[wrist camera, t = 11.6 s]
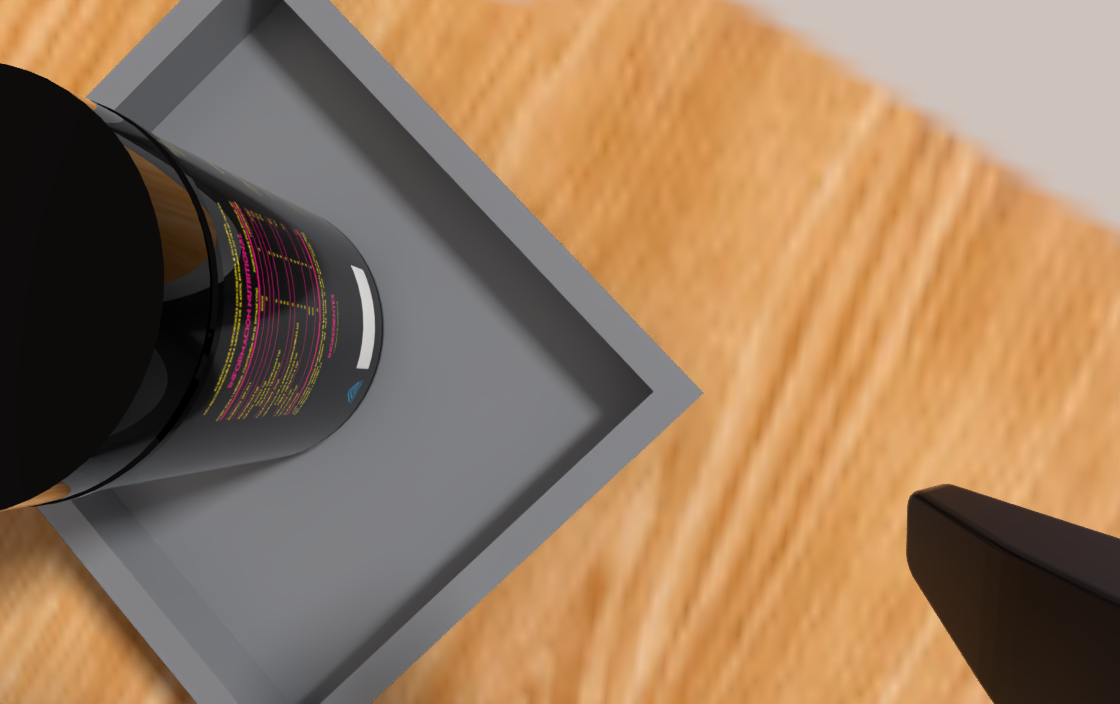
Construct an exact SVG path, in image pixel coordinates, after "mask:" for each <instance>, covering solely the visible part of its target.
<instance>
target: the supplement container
mask: <svg viewBox="0 0 1120 704" xmlns="http://www.w3.org/2000/svg"><path fill="white" fill-rule="evenodd" d="M383 345H384V313H383V305H382V301H381V296H380V292H379V289H378V286H377V283H376V280H375V278H374V276H373V273H372V271H371V269H370V267H369V265H368V264H367V262H366V260H365V258H364V257H363V255H362V254H361V253H360V251H359V250H358V249H357V247H356V246H355V245H354V244H353V243H352V241H351V240H350V239H349V238H348V237H347V236H346V235H345V234H344V233H343V232H341V231H340V230H339V229H338V228H337V227H335V226H334V225H333V224H331V223H330V222H328V221H327V220H325V219H323V218H322V217H320V216H318V215H316V214H314V213H312V212H310V211H308V210H306V209H304V208H302V207H300V206H298V205H296V204H294V203H292V202H290V201H288V200H286V199H284V198H282V197H280V196H278V195H276V194H274V193H272V192H270V191H268V190H266V189H264V188H262V187H260V186H258V185H256V184H254V183H252V182H250V181H248V180H246V179H244V178H242V177H240V176H238V175H236V174H234V173H232V172H229V171H227V170H225V169H223V168H221V167H219V166H217V165H215V164H213V163H211V162H209V161H207V160H205V159H203V158H201V157H199V156H197V155H195V154H193V153H191V152H189V151H187V150H185V149H183V148H181V147H179V146H177V145H175V144H173V143H171V142H169V141H167V140H165V139H163V138H161V137H159V136H157V135H155V134H153V133H151V132H149V131H148V130H146V129H145V128H143V127H142V126H141V125H139V124H138V123H136V122H135V121H133V120H131V119H130V118H128V117H126V116H124V115H122V114H121V113H119V112H117V111H115V110H113V109H111V108H109V107H106V106H104V105H102V104H99V103H97V102H94V101H92V100H89V99H87V98H85V97H83V96H81V95H79V94H77V93H75V92H73V91H71V90H69V89H67V88H65V87H63V86H61V85H59V84H57V83H55V82H53V81H51V80H49V79H46V78H44V77H42V76H39V75H37V74H34V73H32V72H30V71H27V70H24V69H20V68H17V67H14V66H10V65H6V64H1V63H0V512H2V511H7V510H12V509H18V508H23V507H34V506H42V505H49V504H55V503H61V502H65V501H69V500H73V499H76V498H80V497H84V496H86V495H89V494H91V493H94V492H99V491H104V490H110V489H115V488H121V487H126V486H132V485H137V484H143V483H148V482H153V481H159V480H164V479H170V478H175V477H181V476H186V475H192V474H197V473H203V472H208V471H213V470H219V469H224V468H230V467H235V466H241V465H246V464H252V463H257V462H263V461H268V460H274V459H279V458H284V457H288V456H292V455H295V454H298V453H301V452H303V451H306V450H308V449H310V448H312V447H314V446H316V445H318V444H320V443H321V442H323V441H324V440H326V439H327V438H329V437H330V436H332V435H333V434H334V433H335V432H337V431H338V430H339V429H340V428H341V427H342V426H343V425H344V424H345V423H346V422H347V421H348V420H349V419H350V418H351V417H352V416H353V415H354V413H355V412H356V411H357V410H358V408H359V407H360V405H361V404H362V402H363V401H364V399H365V398H366V396H367V394H368V392H369V390H370V388H371V386H372V384H373V382H374V379H375V377H376V374H377V371H378V368H379V364H380V361H381V356H382V351H383Z"/></svg>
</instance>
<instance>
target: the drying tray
mask: <svg viewBox="0 0 1120 704" xmlns="http://www.w3.org/2000/svg"><path fill="white" fill-rule="evenodd" d="M85 98H87V99H89V100H92V101H94V102H97V103H99V104H102V105H104V106H106V107H109V108H111V109H113V110H115V111H117V112H119V113H121V114H122V115H124V116H126V117H128V118H130V119H131V120H133V121H135V122H136V123H138V124H139V125H141V126H142V127H143V128H145V129H146V130H148V131H149V132H151V133H153V134H155V135H157V136H159V137H161V138H163V139H165V140H167V141H169V142H171V143H173V144H175V145H177V146H179V147H181V148H183V149H185V150H187V151H189V152H191V153H193V154H195V155H197V156H199V157H201V158H203V159H205V160H207V161H209V162H211V163H213V164H215V165H217V166H219V167H221V168H223V169H225V170H227V171H229V172H232V173H234V174H236V175H238V176H240V177H242V178H244V179H246V180H248V181H250V182H252V183H254V184H256V185H258V186H260V187H262V188H264V189H266V190H268V191H270V192H272V193H274V194H276V195H278V196H280V197H282V198H284V199H286V200H288V201H290V202H292V203H294V204H296V205H298V206H300V207H302V208H304V209H306V210H308V211H310V212H312V213H314V214H316V215H318V216H320V217H322V218H323V219H325V220H327V221H328V222H330V223H331V224H333V225H334V226H335V227H337V228H338V229H339V230H340V231H341V232H343V233H344V234H345V235H346V236H347V237H348V238H349V239H350V240H351V241H352V243H353V244H354V245H355V246H356V247H357V249H358V250H359V251H360V253H361V254H362V255H363V257H364V258H365V260H366V262H367V264H368V265H369V267H370V269H371V271H372V273H373V276H374V278H375V280H376V283H377V286H378V289H379V292H380V296H381V301H382V305H383V313H384V345H383V351H382V356H381V361H380V364H379V368H378V371H377V374H376V377H375V379H374V382H373V384H372V386H371V388H370V390H369V392H368V394H367V396H366V398H365V399H364V401H363V402H362V404H361V405H360V407H359V408H358V410H357V411H356V412H355V413H354V415H353V416H352V417H351V418H350V419H349V420H348V421H347V422H346V423H345V424H344V425H343V426H342V427H341V428H340V429H339V430H338V431H337V432H335V433H334V434H333V435H332V436H330V437H329V438H327V439H326V440H324V441H323V442H321V443H320V444H318V445H316V446H314V447H312V448H310V449H308V450H306V451H303V452H301V453H298V454H295V455H292V456H288V457H284V458H279V459H274V460H268V461H263V462H257V463H252V464H246V465H241V466H235V467H230V468H224V469H219V470H213V471H208V472H203V473H197V474H192V475H186V476H181V477H175V478H170V479H164V480H159V481H153V482H148V483H143V484H137V485H132V486H126V487H121V488H115V489H110V490H104V491H99V492H94V493H91V494H89V495H86V496H84V497H80V498H76V499H73V500H69V501H65V502H61V503H55V504H49V505H42V506H36V507H37V509H38V510H39V511H40V512H41V513H42V515H43V516H44V517H45V518H46V520H47V521H48V522H49V523H50V524H51V526H52V527H53V528H54V529H55V531H56V532H57V533H58V534H59V535H60V537H61V538H62V539H63V540H64V542H65V543H66V544H67V545H68V546H69V548H70V549H71V550H72V551H73V553H74V554H75V555H76V556H77V557H78V559H79V560H80V561H81V562H82V564H83V565H84V566H85V567H86V568H87V570H88V571H89V572H90V573H91V575H92V576H93V577H94V578H95V579H96V581H97V582H98V583H99V584H100V586H101V587H102V588H103V589H104V590H105V592H106V593H107V594H108V595H109V596H110V598H111V599H112V600H113V601H114V603H115V604H116V605H117V606H118V607H119V609H120V610H121V611H122V612H123V614H124V615H125V616H126V617H127V618H128V620H129V621H130V622H131V623H132V625H133V626H134V627H135V628H136V629H137V631H138V632H139V633H140V634H141V636H142V637H143V638H144V639H145V640H146V642H147V643H148V644H149V645H150V647H151V648H152V649H153V650H154V651H155V653H156V654H157V655H158V656H159V658H160V659H161V660H162V661H163V662H164V664H165V665H166V666H167V667H168V669H169V670H170V671H171V672H172V673H173V675H174V676H175V677H176V678H177V680H178V681H179V682H180V683H181V684H182V686H183V687H184V688H185V689H186V691H187V692H188V693H189V694H190V695H191V697H192V698H193V699H194V700H195V702H196V703H197V704H370V703H371V702H372V701H373V700H375V699H376V698H377V697H378V696H379V695H380V694H381V693H382V692H383V691H384V690H385V689H386V688H387V687H388V686H390V685H391V684H392V683H393V682H394V681H395V680H396V679H397V678H398V677H399V676H400V675H401V674H402V673H404V672H405V671H406V670H407V669H408V668H409V667H410V666H411V665H412V664H413V663H414V662H415V661H416V660H417V659H419V658H420V657H421V656H422V655H423V654H424V653H425V652H426V651H427V650H428V649H429V648H430V647H431V646H433V645H434V644H435V643H436V642H437V641H438V640H439V639H440V638H441V637H442V636H443V635H444V634H445V633H446V632H448V631H449V630H450V629H451V628H452V627H453V626H454V625H455V624H456V623H457V622H458V621H459V620H460V619H462V618H463V617H464V616H465V615H466V614H467V613H468V612H469V611H470V610H471V609H472V608H473V607H474V606H476V605H477V604H478V603H479V602H480V601H481V600H482V599H483V598H484V597H485V596H486V595H487V594H488V593H489V592H491V591H492V590H493V589H494V588H495V587H496V586H497V585H498V584H499V583H500V582H501V581H502V580H503V579H505V578H506V577H507V576H508V575H509V574H510V573H511V572H512V571H513V570H514V569H515V568H516V567H517V566H518V565H520V564H521V563H522V562H523V561H524V560H525V559H526V558H527V557H528V556H529V555H530V554H531V553H532V552H534V551H535V550H536V549H537V548H538V547H539V546H540V545H541V544H542V543H543V542H544V541H545V540H546V539H547V538H549V537H550V536H551V535H552V534H553V533H554V532H555V531H556V530H557V529H558V528H559V527H560V526H561V525H563V524H564V523H565V522H566V521H567V520H568V519H569V518H570V517H571V516H572V515H573V514H574V513H575V512H576V511H578V510H579V509H580V508H581V507H582V506H583V505H584V504H585V503H586V502H587V501H588V500H589V499H590V498H592V497H593V496H594V495H595V494H596V493H597V492H598V491H599V490H600V489H601V488H602V487H603V486H604V485H605V484H607V483H608V482H609V481H610V480H611V479H612V478H613V477H614V476H615V475H616V474H617V473H618V472H619V471H621V470H622V469H623V468H624V467H625V466H626V465H627V464H628V463H629V462H630V461H631V460H632V459H633V458H634V457H636V456H637V455H638V454H639V453H640V452H641V451H642V450H643V449H644V448H645V447H646V446H647V445H648V444H650V443H651V442H652V441H653V440H654V439H655V438H656V437H657V436H658V435H659V434H660V433H661V432H662V431H663V430H665V429H666V428H667V427H668V426H669V425H670V424H671V423H672V422H673V421H674V420H675V419H676V418H677V417H679V416H680V415H681V414H682V413H683V412H684V411H685V410H686V409H687V408H688V407H689V406H690V405H691V404H693V403H694V402H695V401H696V400H697V399H698V398H699V397H700V396H701V395H702V394H703V392H702V391H701V390H700V389H699V388H698V387H697V386H696V385H695V384H694V383H693V382H692V381H691V380H690V378H689V377H688V376H687V375H686V374H685V373H684V372H683V371H682V370H681V369H680V368H679V367H678V366H677V365H676V364H675V363H674V362H673V361H672V360H671V359H670V357H669V356H668V355H667V354H666V353H665V352H664V351H663V350H662V349H661V348H660V347H659V346H658V345H657V344H656V343H655V342H654V341H653V340H652V339H651V338H650V337H649V335H648V334H647V333H646V332H645V331H644V330H643V329H642V328H641V327H640V326H639V325H638V324H637V323H636V322H635V321H634V320H633V319H632V318H631V317H630V316H629V314H628V313H627V312H626V311H625V310H624V309H623V308H622V307H621V306H620V305H619V304H618V303H617V302H616V301H615V300H614V299H613V298H612V297H611V296H610V295H609V294H608V292H607V291H606V290H605V289H604V288H603V287H602V286H601V285H600V284H599V283H598V282H597V281H596V280H595V279H594V278H593V277H592V276H591V275H590V274H589V273H588V271H587V270H586V269H585V268H584V267H583V266H582V265H581V264H580V263H579V262H578V261H577V260H576V259H575V258H574V257H573V256H572V255H571V254H570V253H569V252H568V251H567V249H566V248H565V247H564V246H563V245H562V244H561V243H560V242H559V241H558V240H557V239H556V238H555V237H554V236H553V235H552V234H551V233H550V232H549V231H548V230H547V228H546V227H545V226H544V225H543V224H542V223H541V222H540V221H539V220H538V219H537V218H536V217H535V216H534V215H533V214H532V213H531V212H530V211H529V210H528V209H527V208H526V206H525V205H524V204H523V203H522V202H521V201H520V200H519V199H518V198H517V197H516V196H515V195H514V194H513V193H512V192H511V191H510V190H509V189H508V188H507V187H506V185H505V184H504V183H503V182H502V181H501V180H500V179H499V178H498V177H497V176H496V175H495V174H494V173H493V172H492V171H491V170H490V169H489V168H488V167H487V166H486V164H485V163H484V162H483V161H482V160H481V159H480V158H479V157H478V156H477V155H476V154H475V153H474V152H473V151H472V150H471V149H470V148H469V147H468V146H467V145H466V144H465V142H464V141H463V140H462V139H461V138H460V137H459V136H458V135H457V134H456V133H455V132H454V131H453V130H452V129H451V128H450V127H449V126H448V125H447V124H446V123H445V121H444V120H443V119H442V118H441V117H440V116H439V115H438V114H437V113H436V112H435V111H434V110H433V109H432V108H431V107H430V106H429V105H428V104H427V103H426V102H425V101H424V99H423V98H422V97H421V96H420V95H419V94H418V93H417V92H416V91H415V90H414V89H413V88H412V87H411V86H410V85H409V84H408V83H407V82H406V81H405V80H404V78H403V77H402V76H401V75H400V74H399V73H398V72H397V71H396V70H395V69H394V68H393V67H392V66H391V65H390V64H389V63H388V62H387V61H386V60H385V59H384V58H383V56H382V55H381V54H380V53H379V52H378V51H377V50H376V49H375V48H374V47H373V46H372V45H371V44H370V43H369V42H368V41H367V40H366V39H365V38H364V37H363V35H362V34H361V33H360V32H359V31H358V30H357V29H356V28H355V27H354V26H353V25H352V24H351V23H350V22H349V21H348V20H347V19H346V18H345V17H344V16H343V15H342V13H341V12H340V11H339V10H338V9H337V8H336V7H335V6H334V5H333V4H332V3H331V2H330V1H329V0H181V1H180V2H179V3H178V4H177V5H176V6H175V7H174V8H173V9H172V10H171V11H170V12H169V13H168V14H167V15H166V16H165V17H164V18H163V19H162V20H161V21H160V22H159V23H158V24H157V25H156V26H155V27H154V28H153V29H152V30H151V31H150V32H149V33H148V34H147V35H146V36H145V37H144V38H143V39H142V40H141V41H140V42H139V43H138V44H137V45H136V46H135V47H134V48H133V49H132V50H131V51H130V53H129V54H128V55H127V56H126V57H125V58H124V59H123V60H122V61H121V62H120V63H119V64H118V65H117V66H116V67H115V68H114V69H113V70H112V71H111V72H110V73H109V74H108V75H107V76H106V77H105V78H104V79H103V80H102V81H101V82H100V83H99V84H98V85H97V86H96V87H95V88H94V89H93V90H92V91H91V92H90V93H89V94H88V95H87V96H86V97H85Z"/></svg>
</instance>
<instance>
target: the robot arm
mask: <svg viewBox="0 0 1120 704" xmlns="http://www.w3.org/2000/svg"><path fill="white" fill-rule="evenodd" d="M906 556H907V562H908V566H909V569H910V571H911V574H912V576H913V578H914V579H915V581H916V583H917V584H918V586H919V587H920V589H921V591H922V592H923V594H924V595H925V597H926V598H927V600H928V602H929V603H930V605H931V606H932V608H933V610H934V611H935V613H936V614H937V616H938V618H939V619H940V621H941V622H942V624H943V625H944V627H945V629H946V630H947V632H948V633H949V635H950V637H951V638H952V640H953V641H954V643H955V645H956V646H957V648H958V649H959V651H960V652H961V654H962V656H963V657H964V659H965V660H966V662H967V664H968V665H969V667H970V668H971V670H972V672H973V673H974V675H975V676H976V678H977V679H978V681H979V682H980V684H981V685H982V687H983V688H984V690H985V691H986V693H987V694H988V696H989V697H990V699H991V700H992V701H993V703H994V704H1120V539H1119V538H1116V537H1113V536H1110V535H1107V534H1104V533H1101V532H1097V531H1094V530H1091V529H1088V528H1085V527H1082V526H1079V525H1076V524H1073V523H1070V522H1066V521H1063V520H1060V519H1057V518H1054V517H1051V516H1048V515H1045V514H1042V513H1038V512H1035V511H1032V510H1029V509H1026V508H1023V507H1020V506H1017V505H1014V504H1011V503H1007V502H1004V501H1001V500H998V499H995V498H992V497H989V496H986V495H983V494H979V493H976V492H973V491H970V490H967V489H964V488H961V487H958V486H955V485H951V484H942V485H938V486H934V487H930V488H926V489H922V490H918V491H916V492H914V493H913V494H912V495H911V496H910V498H909V500H908V506H907V542H906Z"/></svg>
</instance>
